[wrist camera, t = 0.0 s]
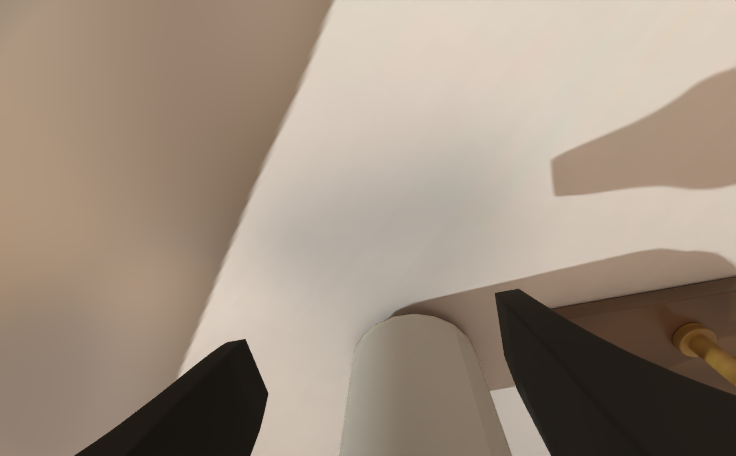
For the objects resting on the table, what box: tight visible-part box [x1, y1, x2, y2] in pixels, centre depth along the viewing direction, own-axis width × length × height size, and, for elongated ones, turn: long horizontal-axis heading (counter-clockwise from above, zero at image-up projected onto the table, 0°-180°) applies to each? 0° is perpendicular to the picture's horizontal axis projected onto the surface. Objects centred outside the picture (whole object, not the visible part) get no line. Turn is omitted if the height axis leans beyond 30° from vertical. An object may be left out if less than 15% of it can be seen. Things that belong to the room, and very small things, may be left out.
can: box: [339, 314, 512, 456], centre depth 17 cm, size 8×8×12 cm
